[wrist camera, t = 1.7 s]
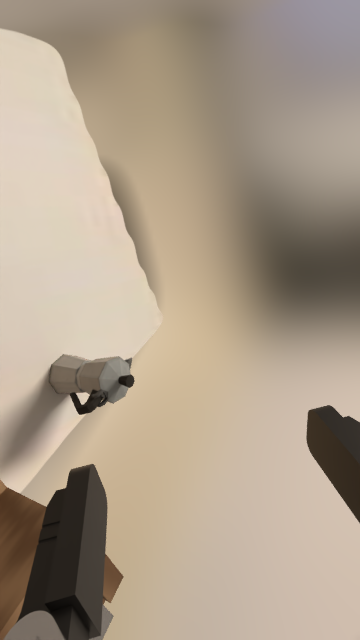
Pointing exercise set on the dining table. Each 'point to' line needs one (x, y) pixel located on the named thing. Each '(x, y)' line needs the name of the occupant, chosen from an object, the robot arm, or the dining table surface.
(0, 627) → the stand
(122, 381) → the coffee maker
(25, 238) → the dining table surface
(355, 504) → the robot arm
